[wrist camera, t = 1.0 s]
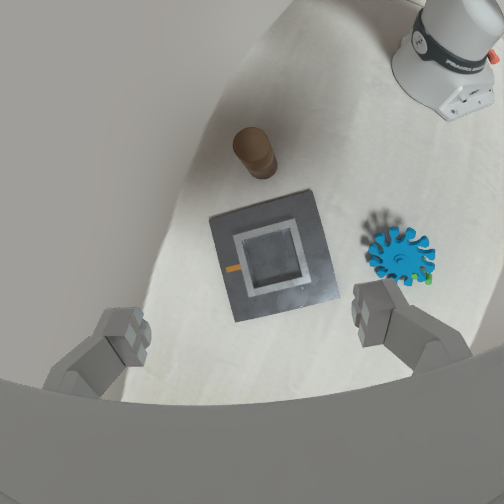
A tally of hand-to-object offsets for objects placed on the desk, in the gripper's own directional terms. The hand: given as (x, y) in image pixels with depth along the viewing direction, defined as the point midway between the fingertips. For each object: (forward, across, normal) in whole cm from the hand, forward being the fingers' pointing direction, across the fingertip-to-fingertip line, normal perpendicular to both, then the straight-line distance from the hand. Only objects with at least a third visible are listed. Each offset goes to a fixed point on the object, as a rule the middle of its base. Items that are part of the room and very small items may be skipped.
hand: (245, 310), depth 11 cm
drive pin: (+36, -2, +5) cm, 37 cm away
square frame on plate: (+28, -2, +17) cm, 33 cm away
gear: (+26, -20, +18) cm, 37 cm away
